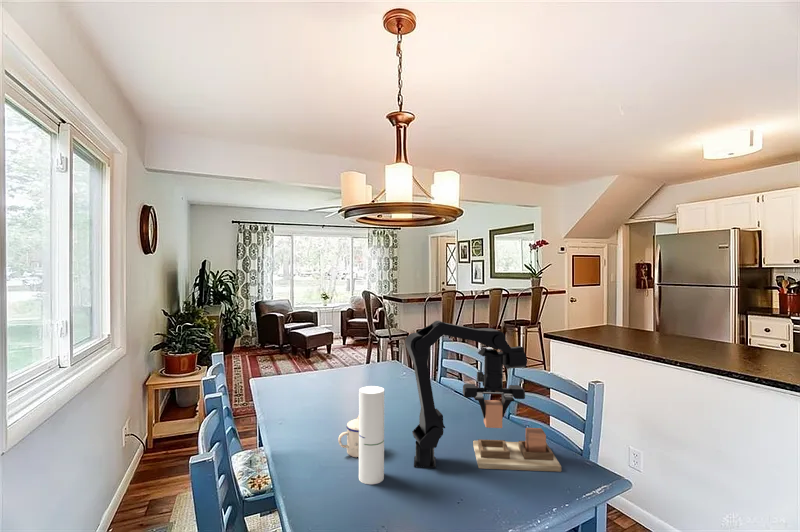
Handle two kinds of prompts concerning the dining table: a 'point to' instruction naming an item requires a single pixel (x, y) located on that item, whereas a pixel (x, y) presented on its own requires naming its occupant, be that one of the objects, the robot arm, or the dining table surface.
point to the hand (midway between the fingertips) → (492, 418)
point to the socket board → (517, 453)
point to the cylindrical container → (371, 434)
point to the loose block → (493, 414)
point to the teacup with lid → (351, 438)
